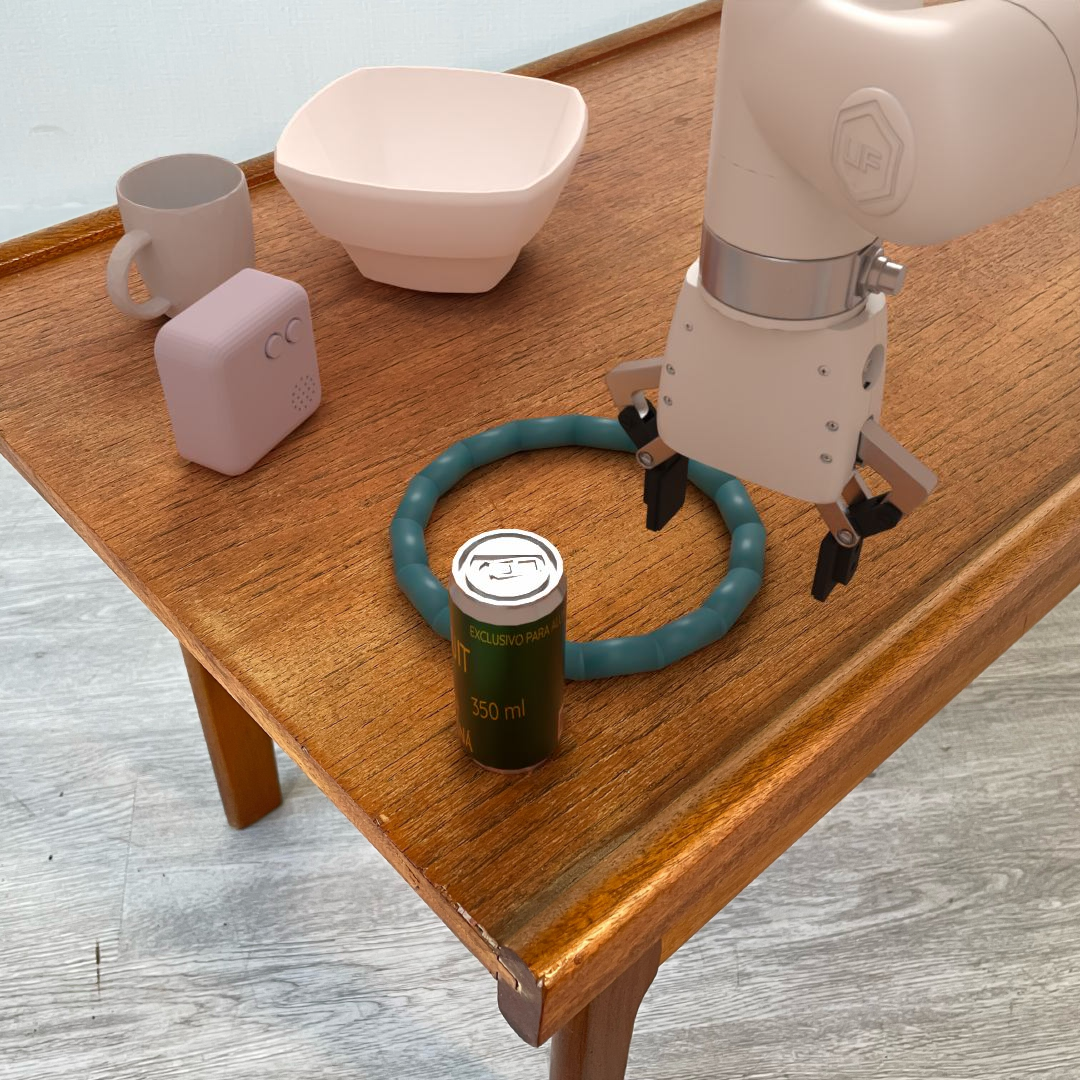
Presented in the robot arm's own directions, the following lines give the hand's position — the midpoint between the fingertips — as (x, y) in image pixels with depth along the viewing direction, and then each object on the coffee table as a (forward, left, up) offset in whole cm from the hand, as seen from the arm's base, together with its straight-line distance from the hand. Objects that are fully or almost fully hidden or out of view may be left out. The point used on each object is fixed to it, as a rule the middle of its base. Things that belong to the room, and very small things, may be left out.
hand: (744, 550), depth 64 cm
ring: (+11, 0, -4) cm, 11 cm away
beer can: (+6, +14, -6) cm, 16 cm away
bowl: (+38, -22, -6) cm, 44 cm away
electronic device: (+34, +3, -6) cm, 34 cm away
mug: (+49, -5, -6) cm, 49 cm away
